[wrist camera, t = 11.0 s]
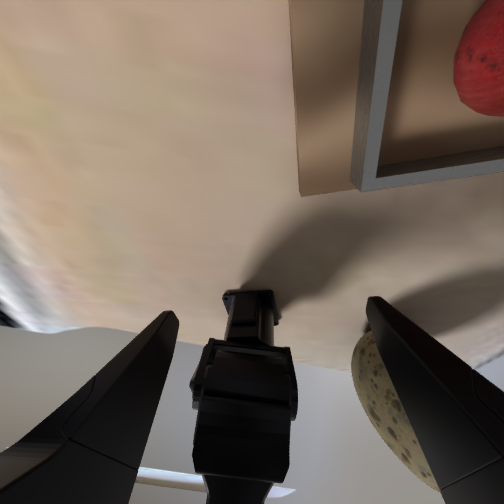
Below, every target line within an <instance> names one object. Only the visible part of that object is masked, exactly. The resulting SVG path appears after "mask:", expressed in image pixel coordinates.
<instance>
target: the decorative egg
mask: <svg viewBox="0 0 504 504" xmlns="http://www.w3.org/2000/svg"><path fill="white" fill-rule="evenodd" d="M351 369H352V377H353V382H354V386H355V389H356V392H357V395H358V397H359V400H360V402H361V404H362V406H363V408H364V410H365V412H366V414H367V416H368V418H369V419H370V421H371V423H372V424H373V426H374V427H375V429H376V430H377V432H378V433H379V435H380V436H381V437H382V439H383V440H384V441H385V443H386V444H387V445H388V447H390V449H391V450H392V451H393V452H394V454H395V455H396V456H397V457H398V458H399V459H400V460H401V461H402V463H403V464H404V465H405V466H406V467H408V469H409V470H410V471H412V472H413V473H414V474H415V475H416V476H417V477H418V478H420V479H421V480H422V481H423V482H425V483H426V484H427V485H429V486H430V487H431V488H433V489H435V490H436V491H438V492H440V489H439V487H438V485H437V483H436V481H435V478H434V476H433V474H432V472H431V469H430V467H429V465H428V463H427V460H426V458H425V456H424V453H423V451H422V449H421V447H420V444H419V442H418V440H417V438H416V435H415V433H414V431H413V429H412V426H411V424H410V422H409V420H408V417H407V415H406V413H405V411H404V408H403V406H402V404H401V402H400V399H399V397H398V395H397V393H396V390H395V388H394V386H393V383H392V381H391V379H390V377H389V374H388V372H387V370H386V368H385V365H384V363H383V361H382V359H381V356H380V354H379V352H378V349H377V346H376V343H375V340H374V337H373V334H372V330H371V331H369V332H367V333H366V334H365V335H363V336H362V337H361V339H360V340H359V341H358V343H357V344H356V346H355V349H354V351H353V355H352V362H351ZM440 493H441V492H440Z"/></svg>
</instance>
